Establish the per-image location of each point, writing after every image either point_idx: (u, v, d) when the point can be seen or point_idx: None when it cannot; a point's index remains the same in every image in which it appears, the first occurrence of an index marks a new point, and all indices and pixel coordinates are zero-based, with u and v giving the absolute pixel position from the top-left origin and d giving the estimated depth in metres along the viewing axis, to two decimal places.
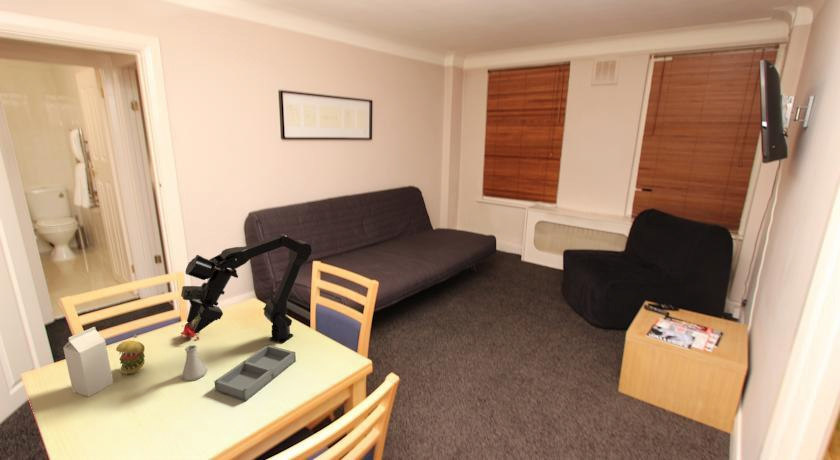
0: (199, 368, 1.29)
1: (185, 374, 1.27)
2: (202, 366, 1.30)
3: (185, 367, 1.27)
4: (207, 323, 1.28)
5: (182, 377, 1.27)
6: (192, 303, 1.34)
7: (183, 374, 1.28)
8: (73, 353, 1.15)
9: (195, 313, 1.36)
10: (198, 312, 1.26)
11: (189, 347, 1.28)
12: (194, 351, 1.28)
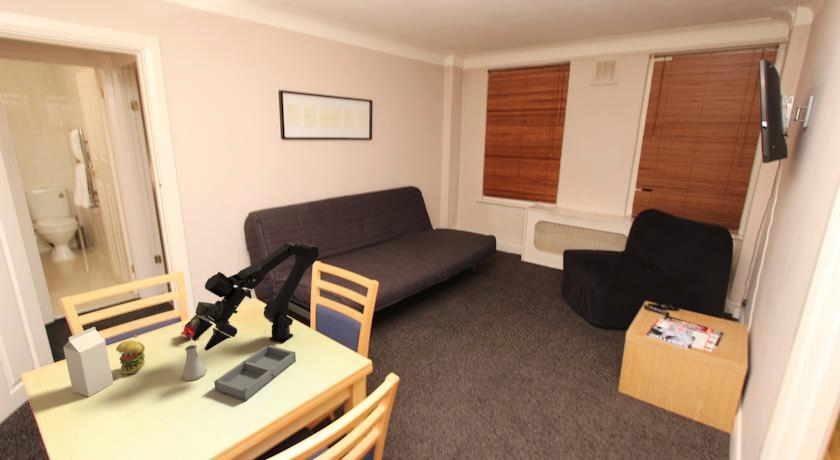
0: (199, 368, 1.29)
1: (185, 374, 1.27)
2: (202, 366, 1.30)
3: (185, 367, 1.27)
4: (219, 341, 1.28)
5: (182, 377, 1.27)
6: (200, 321, 1.34)
7: (183, 374, 1.28)
8: (73, 353, 1.15)
9: (201, 331, 1.34)
10: (214, 328, 1.26)
11: (189, 347, 1.28)
12: (194, 351, 1.28)
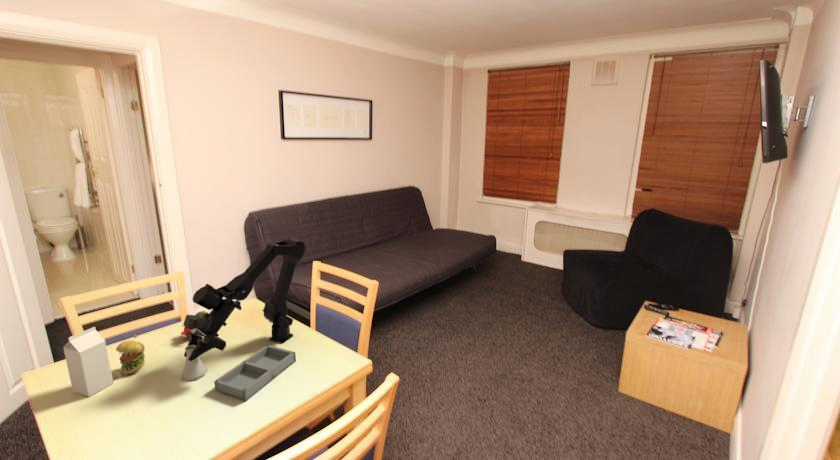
0: (199, 368, 1.29)
1: (185, 374, 1.27)
2: (202, 366, 1.30)
3: (185, 367, 1.27)
4: (203, 351, 1.28)
5: (182, 377, 1.27)
6: (193, 336, 1.30)
7: (182, 373, 1.28)
8: (73, 353, 1.15)
9: None
10: (198, 339, 1.26)
11: (189, 347, 1.28)
12: None
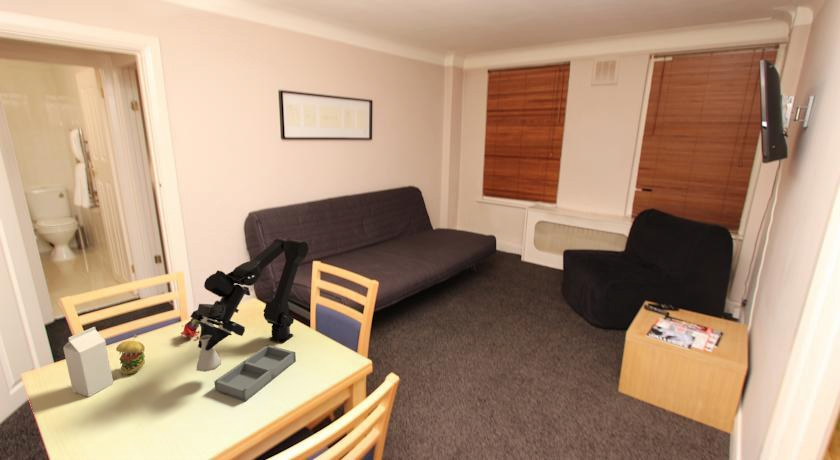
0: (215, 358, 1.25)
1: (202, 365, 1.23)
2: (217, 356, 1.26)
3: (201, 358, 1.23)
4: (220, 339, 1.25)
5: (198, 369, 1.23)
6: (205, 326, 1.25)
7: (198, 365, 1.23)
8: (73, 353, 1.15)
9: None
10: (214, 327, 1.22)
11: (203, 337, 1.24)
12: None
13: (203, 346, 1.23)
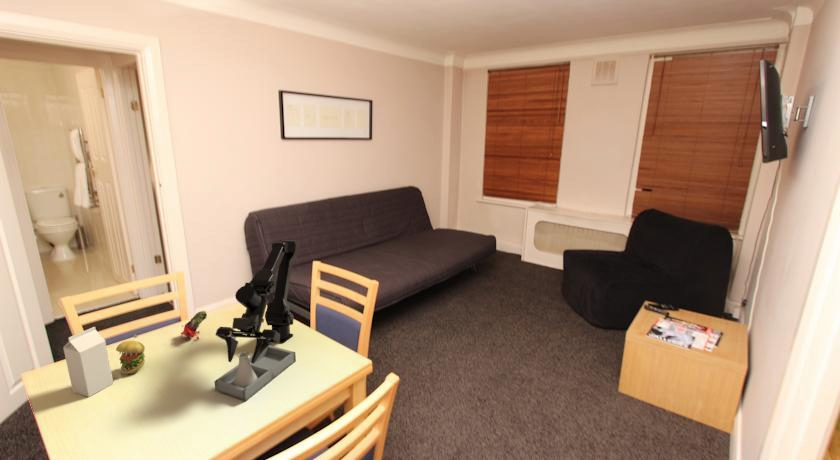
0: (253, 373, 1.26)
1: (242, 382, 1.23)
2: (253, 371, 1.27)
3: (240, 376, 1.23)
4: (262, 350, 1.25)
5: None
6: (231, 340, 1.24)
7: (238, 383, 1.22)
8: (73, 353, 1.15)
9: (233, 351, 1.25)
10: (259, 338, 1.23)
11: (239, 355, 1.24)
12: (247, 357, 1.24)
13: (242, 363, 1.23)
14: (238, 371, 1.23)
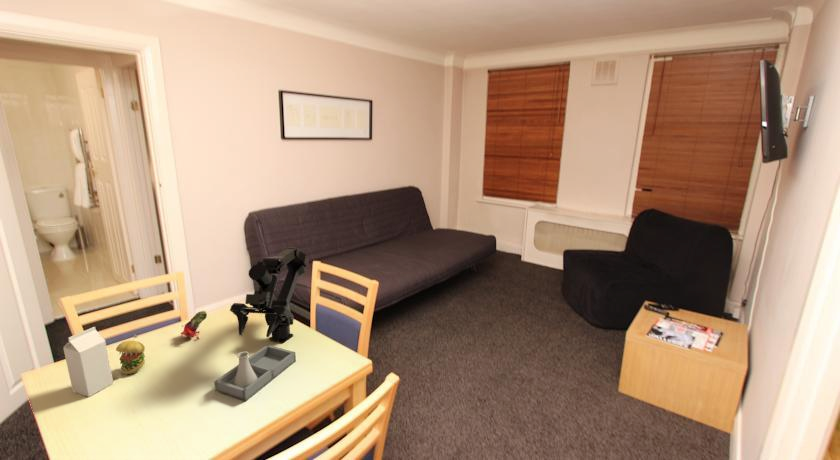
0: (253, 373, 1.26)
1: (242, 382, 1.23)
2: (253, 371, 1.27)
3: (240, 376, 1.23)
4: (276, 325, 1.33)
5: None
6: (242, 315, 1.32)
7: (238, 383, 1.22)
8: (73, 353, 1.15)
9: (243, 325, 1.33)
10: (273, 314, 1.31)
11: (239, 355, 1.24)
12: (247, 357, 1.24)
13: (242, 363, 1.23)
14: (238, 371, 1.23)
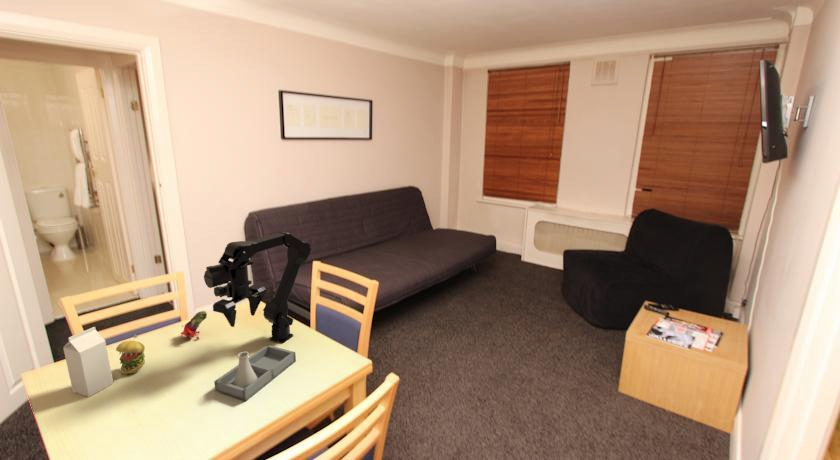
0: (253, 373, 1.26)
1: (242, 382, 1.23)
2: (253, 371, 1.27)
3: (240, 376, 1.23)
4: (231, 317, 1.32)
5: None
6: (248, 298, 1.43)
7: (238, 383, 1.22)
8: (73, 353, 1.15)
9: (254, 306, 1.42)
10: None
11: (239, 355, 1.24)
12: (247, 357, 1.24)
13: (242, 363, 1.23)
14: (238, 371, 1.23)
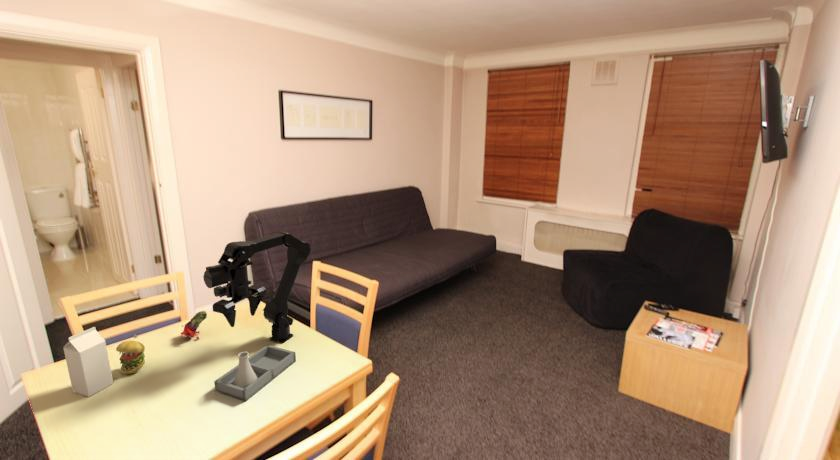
0: (253, 373, 1.26)
1: (242, 382, 1.23)
2: (253, 371, 1.27)
3: (240, 376, 1.23)
4: (231, 318, 1.32)
5: None
6: (248, 298, 1.43)
7: (238, 383, 1.22)
8: (73, 353, 1.15)
9: (254, 306, 1.42)
10: None
11: (239, 355, 1.24)
12: (247, 357, 1.24)
13: (242, 363, 1.23)
14: (238, 371, 1.23)
